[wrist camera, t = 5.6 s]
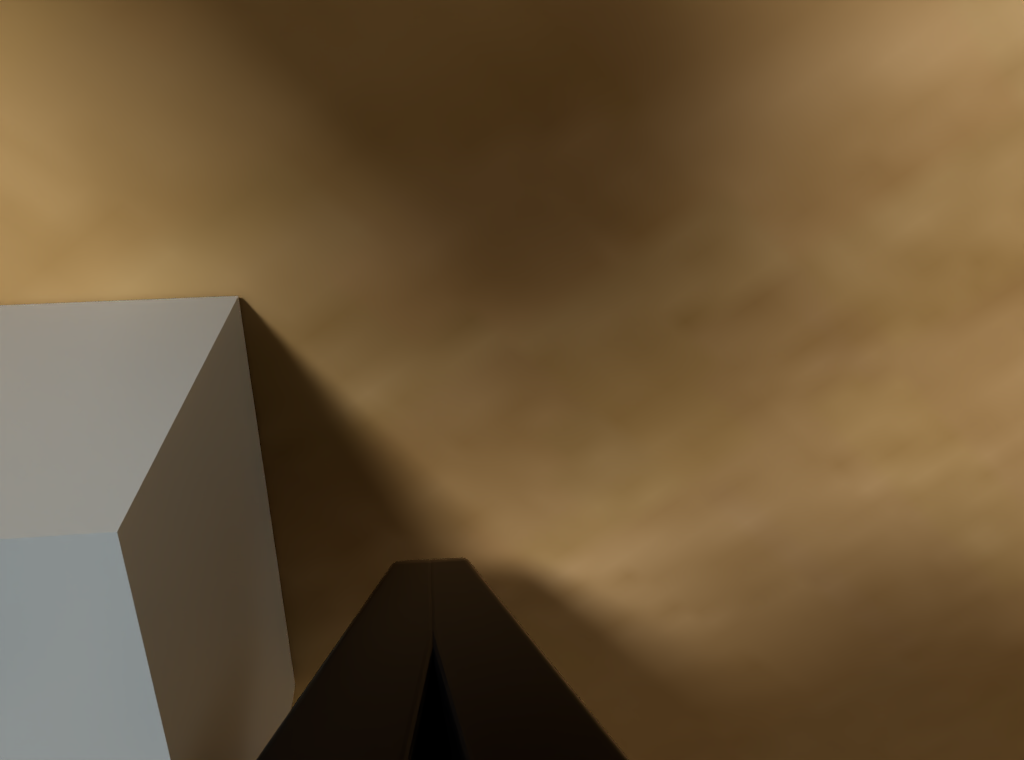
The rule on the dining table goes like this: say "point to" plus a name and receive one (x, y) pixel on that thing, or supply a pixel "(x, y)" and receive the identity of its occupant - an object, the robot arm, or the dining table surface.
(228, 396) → the light grey block
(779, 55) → the dining table surface
